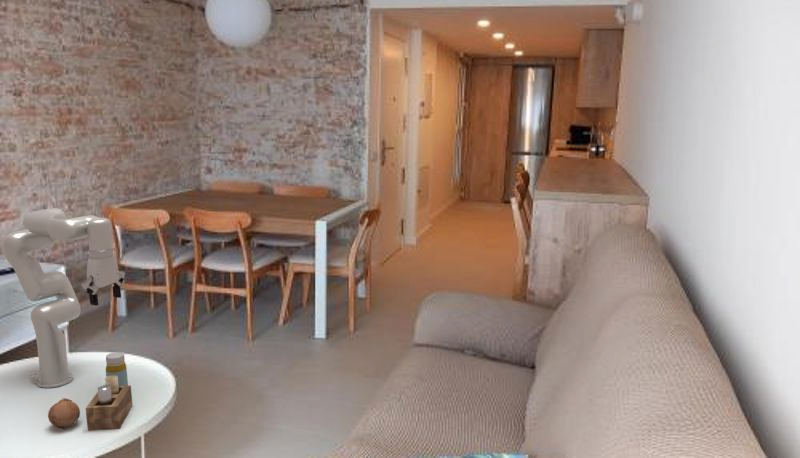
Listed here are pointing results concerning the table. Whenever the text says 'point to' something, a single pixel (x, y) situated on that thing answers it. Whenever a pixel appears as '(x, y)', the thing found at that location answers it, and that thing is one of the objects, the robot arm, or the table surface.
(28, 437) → the table surface
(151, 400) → the table surface
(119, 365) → the bottle
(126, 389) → the socket block
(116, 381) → the peg birch
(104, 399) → the peg metal
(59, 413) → the onion
